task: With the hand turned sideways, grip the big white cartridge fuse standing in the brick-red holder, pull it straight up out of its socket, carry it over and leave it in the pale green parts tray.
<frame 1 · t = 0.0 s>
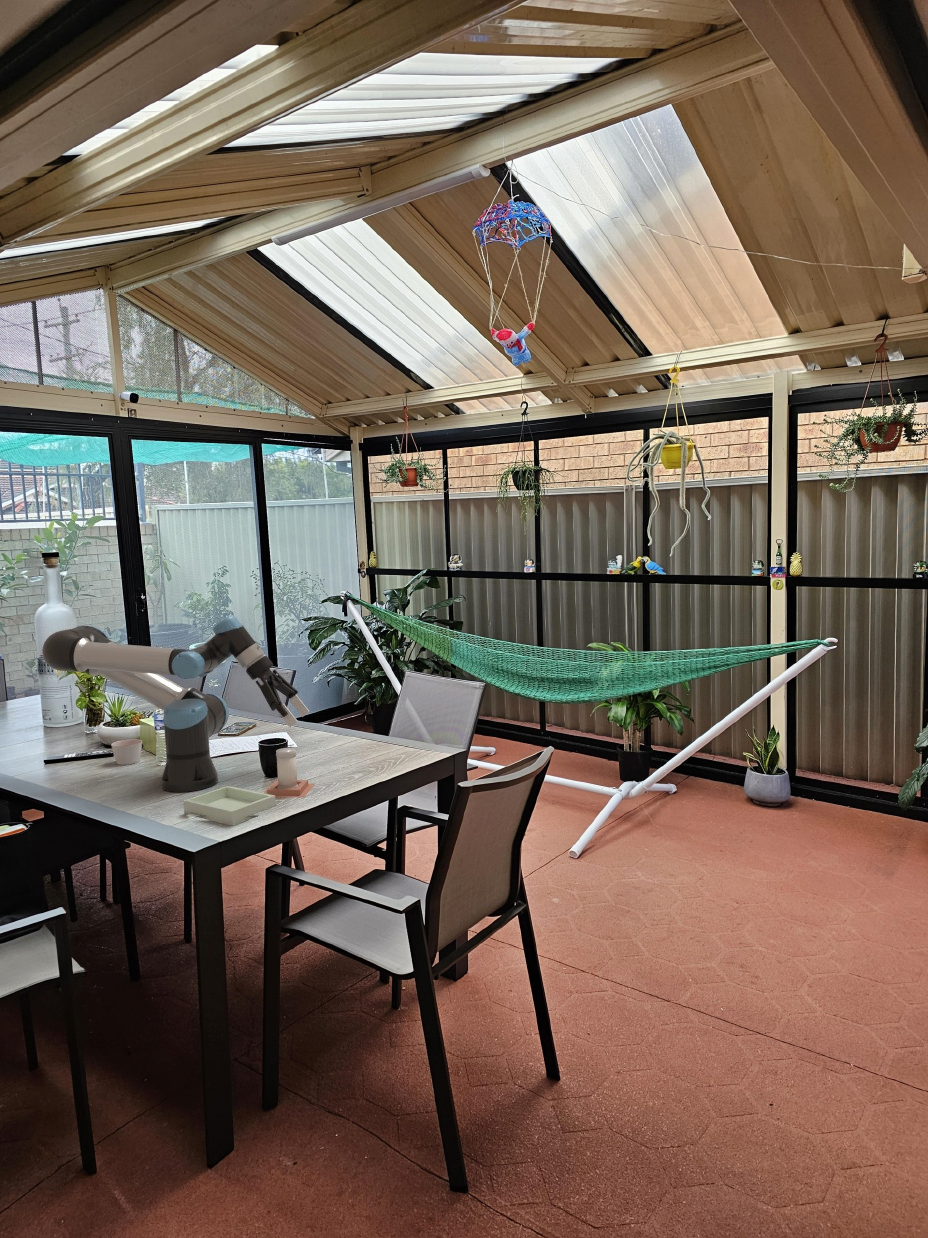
hand: (300, 719, 247), 15 cm above the table, fingers open, 13 cm apart
pink cup: (128, 763, 264), on the table
fuse: (288, 790, 225), point 1 cm above the table, touching fuse holder
parts tray: (230, 811, 212), on the table
fuse holder: (288, 794, 225), on the table
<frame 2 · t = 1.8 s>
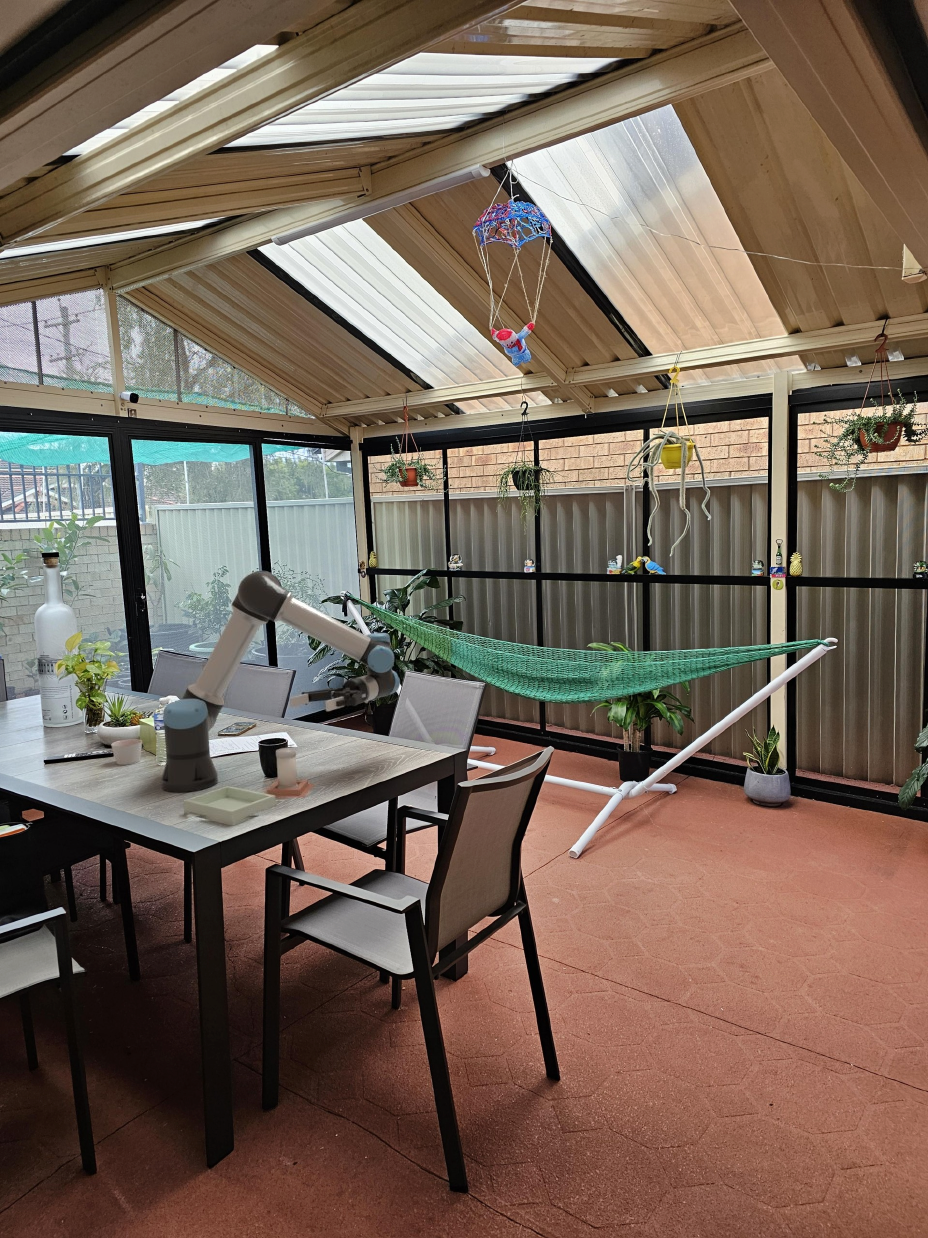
hand: (308, 704, 230), 23 cm above the table, fingers open, 13 cm apart
nothing on the table moved.
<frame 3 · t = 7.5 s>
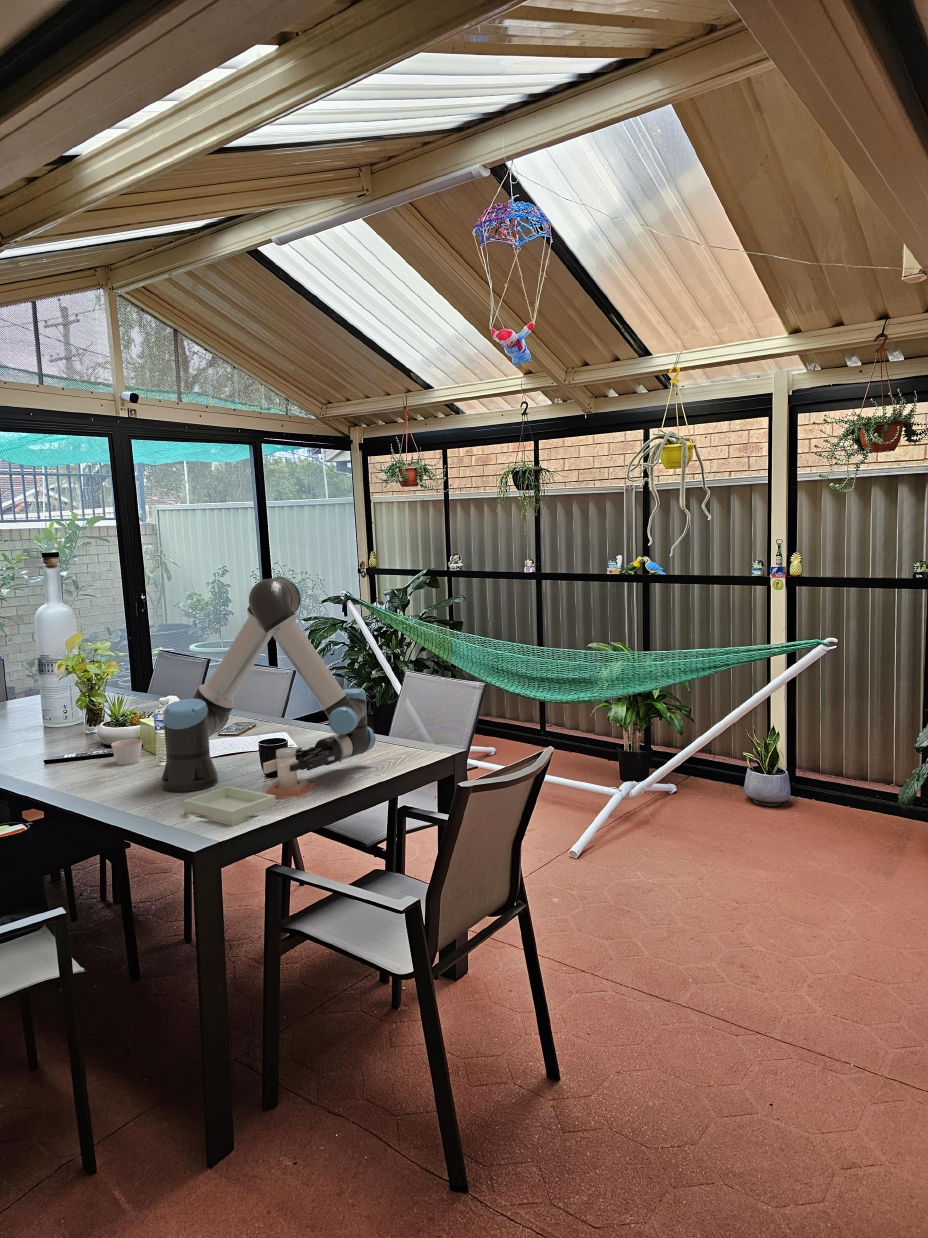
hand: (272, 769, 220), 8 cm above the table, fingers closed on fuse, 5 cm apart
fuse: (288, 790, 225), point 1 cm above the table, touching fuse holder, gripper
everything else where it was.
when the fingers open (10 cm above the table, at t = 14.6 s): fuse drops 2 cm, resting on parts tray.
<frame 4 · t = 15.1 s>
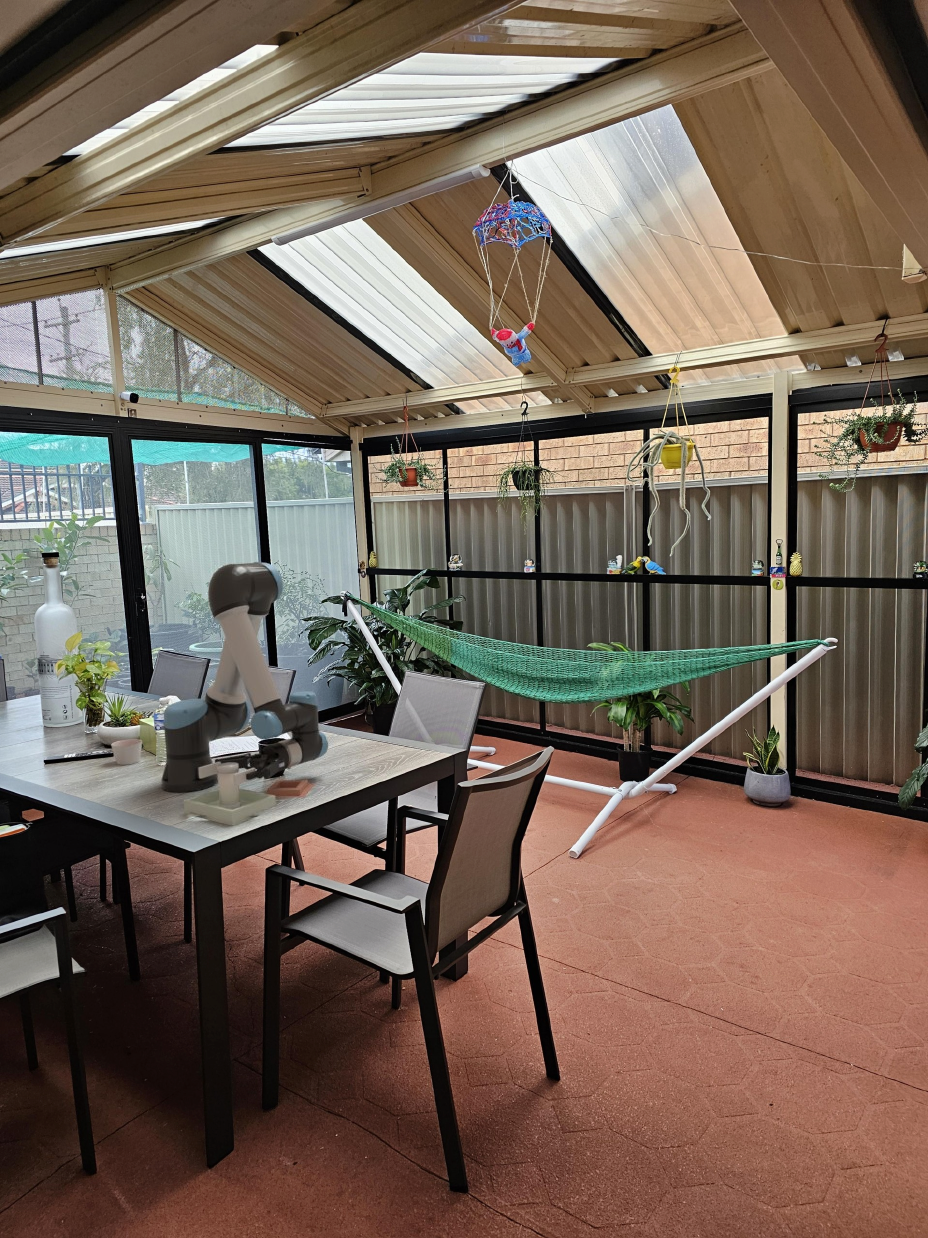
hand: (216, 776, 208), 10 cm above the table, fingers open, 12 cm apart
fuse: (230, 807, 212), point 1 cm above the table, touching parts tray
everything else where it was.
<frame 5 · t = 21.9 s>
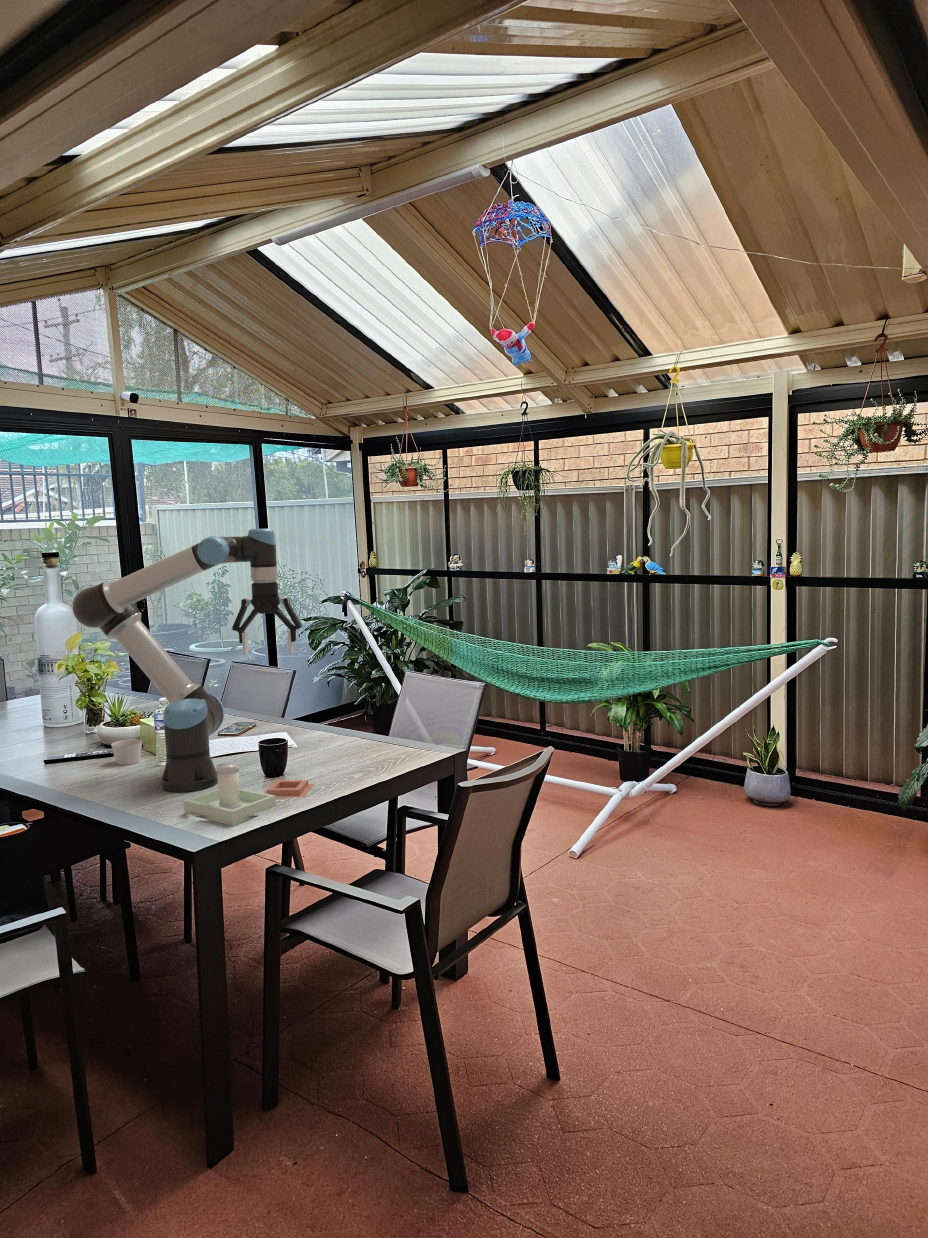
hand: (268, 653, 247), 35 cm above the table, fingers open, 13 cm apart
nothing on the table moved.
at the end: fuse inside the target area on the parts tray (0.0 cm from its centre), point 1.0 cm above the parts tray's base; fuse touching parts tray; the gripper is holding nothing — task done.
